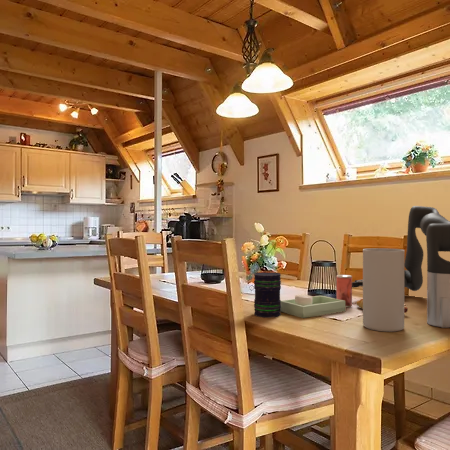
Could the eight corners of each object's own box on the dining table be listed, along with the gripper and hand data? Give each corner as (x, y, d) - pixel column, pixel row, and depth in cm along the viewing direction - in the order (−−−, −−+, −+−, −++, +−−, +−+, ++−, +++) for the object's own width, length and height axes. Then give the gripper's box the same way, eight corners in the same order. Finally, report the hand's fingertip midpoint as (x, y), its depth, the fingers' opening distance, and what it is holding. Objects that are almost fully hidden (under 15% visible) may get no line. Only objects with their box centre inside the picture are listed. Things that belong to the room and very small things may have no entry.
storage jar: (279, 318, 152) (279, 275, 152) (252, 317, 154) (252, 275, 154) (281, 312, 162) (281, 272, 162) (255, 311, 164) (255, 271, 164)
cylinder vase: (371, 320, 148) (371, 247, 147) (409, 326, 140) (409, 249, 139) (356, 328, 138) (356, 250, 138) (396, 334, 130) (396, 251, 130)
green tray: (320, 305, 174) (320, 295, 174) (345, 311, 163) (345, 300, 163) (279, 311, 163) (279, 300, 163) (303, 318, 152) (303, 306, 152)
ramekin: (314, 310, 158) (315, 297, 158) (298, 310, 157) (298, 298, 157) (308, 306, 164) (308, 294, 164) (292, 307, 163) (292, 295, 163)
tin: (354, 306, 171) (354, 276, 171) (339, 307, 170) (339, 276, 170) (348, 303, 177) (348, 274, 177) (334, 304, 176) (334, 274, 176)
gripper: (372, 272, 193) (346, 275, 184) (400, 276, 181) (374, 279, 172) (372, 289, 193) (346, 292, 185) (400, 294, 181) (374, 298, 172)
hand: (360, 286), depth 178 cm, fingers open, 8 cm apart
